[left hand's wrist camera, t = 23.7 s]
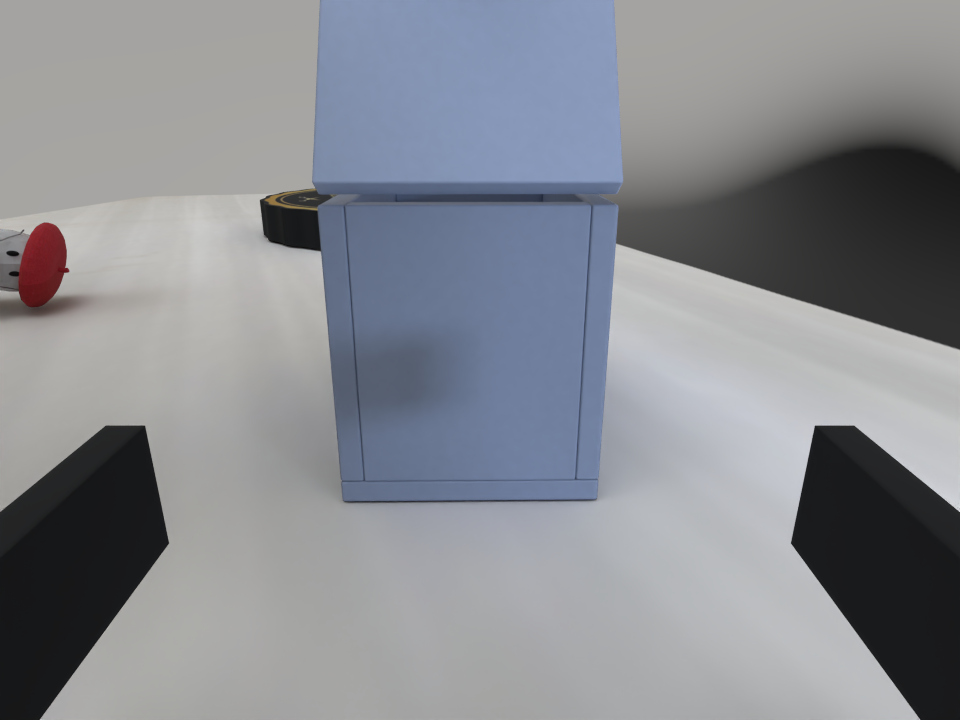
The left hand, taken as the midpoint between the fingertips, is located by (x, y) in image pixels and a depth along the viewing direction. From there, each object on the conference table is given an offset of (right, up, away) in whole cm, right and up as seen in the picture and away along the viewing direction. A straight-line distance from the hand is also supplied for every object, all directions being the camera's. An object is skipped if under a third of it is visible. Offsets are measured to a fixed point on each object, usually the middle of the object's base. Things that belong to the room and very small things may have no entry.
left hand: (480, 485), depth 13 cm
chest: (0, 0, +19) cm, 19 cm away
